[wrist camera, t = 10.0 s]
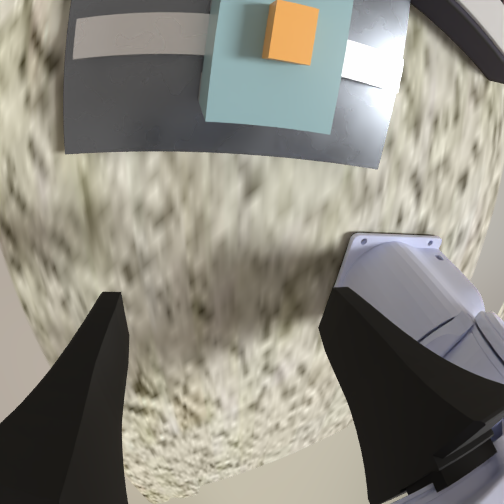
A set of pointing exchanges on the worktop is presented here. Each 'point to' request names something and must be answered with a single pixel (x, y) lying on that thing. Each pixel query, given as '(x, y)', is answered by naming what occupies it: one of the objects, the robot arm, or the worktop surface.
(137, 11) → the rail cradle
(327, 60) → the block
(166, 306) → the worktop surface
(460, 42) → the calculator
